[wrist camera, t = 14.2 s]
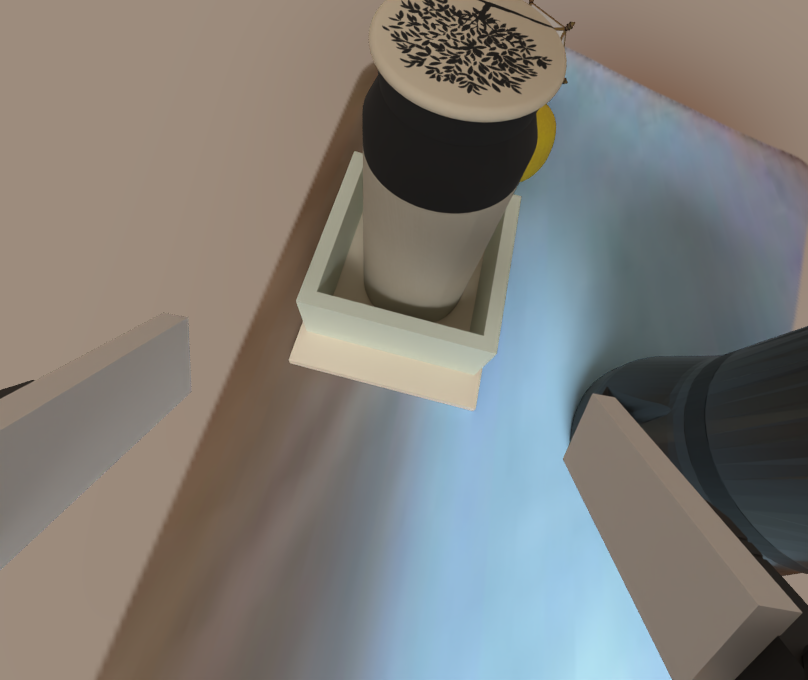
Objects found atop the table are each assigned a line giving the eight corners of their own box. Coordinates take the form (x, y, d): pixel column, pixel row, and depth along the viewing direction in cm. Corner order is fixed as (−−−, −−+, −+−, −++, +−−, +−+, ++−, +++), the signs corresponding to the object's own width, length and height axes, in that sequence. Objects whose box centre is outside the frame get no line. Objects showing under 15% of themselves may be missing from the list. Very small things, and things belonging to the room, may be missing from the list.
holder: (357, 181, 35) (357, 126, 29) (505, 221, 35) (531, 173, 30) (290, 363, 28) (273, 334, 23) (472, 410, 28) (498, 394, 23)
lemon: (521, 209, 36) (564, 137, 28) (467, 187, 36) (494, 110, 28) (536, 169, 38) (579, 92, 30) (484, 148, 38) (515, 66, 30)
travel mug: (430, 346, 29) (520, 154, 12) (343, 293, 30) (316, 45, 13) (478, 271, 32) (605, 32, 15) (397, 225, 33) (432, -51, 16)
